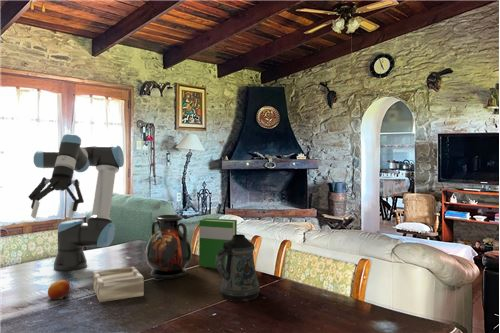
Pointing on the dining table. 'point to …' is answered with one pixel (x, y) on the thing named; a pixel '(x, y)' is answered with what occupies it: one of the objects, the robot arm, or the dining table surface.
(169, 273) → the amphora vase
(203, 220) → the hardback book
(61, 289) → the fruit
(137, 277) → the square tray
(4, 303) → the dining table surface
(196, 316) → the dining table surface
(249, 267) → the beer stein
